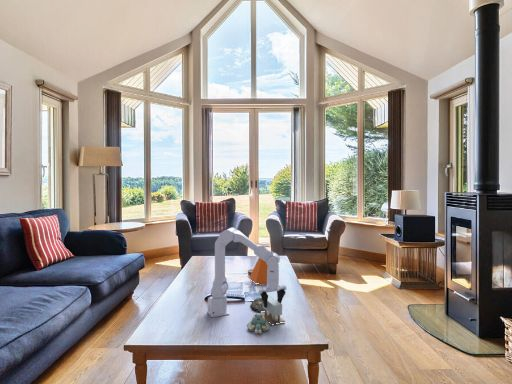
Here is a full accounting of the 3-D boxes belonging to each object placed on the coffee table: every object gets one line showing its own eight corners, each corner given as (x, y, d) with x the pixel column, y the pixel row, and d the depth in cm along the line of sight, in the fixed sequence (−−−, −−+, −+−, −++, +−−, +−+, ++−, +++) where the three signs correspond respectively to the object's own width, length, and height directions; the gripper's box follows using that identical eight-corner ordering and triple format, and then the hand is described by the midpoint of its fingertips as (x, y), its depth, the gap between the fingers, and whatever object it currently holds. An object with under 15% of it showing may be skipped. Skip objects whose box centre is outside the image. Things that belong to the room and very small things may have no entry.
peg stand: (272, 325, 155) (272, 317, 155) (260, 315, 167) (260, 307, 166) (284, 323, 158) (285, 314, 158) (272, 313, 170) (272, 305, 169)
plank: (273, 316, 156) (274, 305, 156) (262, 307, 167) (262, 297, 167) (282, 314, 158) (282, 304, 158) (270, 305, 169) (270, 296, 168)
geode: (276, 300, 189) (250, 300, 188) (276, 293, 188) (250, 293, 188) (279, 314, 170) (250, 314, 170) (279, 306, 170) (250, 306, 169)
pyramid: (248, 278, 229) (249, 249, 228) (270, 276, 234) (270, 248, 233) (255, 285, 214) (256, 255, 213) (278, 283, 219) (278, 253, 218)
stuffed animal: (245, 323, 144) (247, 308, 156) (245, 338, 146) (247, 321, 158) (270, 324, 144) (270, 309, 156) (270, 339, 146) (269, 322, 157)
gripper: (263, 282, 155) (262, 311, 155) (289, 279, 161) (289, 306, 161) (256, 278, 161) (256, 305, 162) (282, 275, 167) (282, 301, 168)
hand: (272, 305), depth 162 cm, fingers open, 7 cm apart
